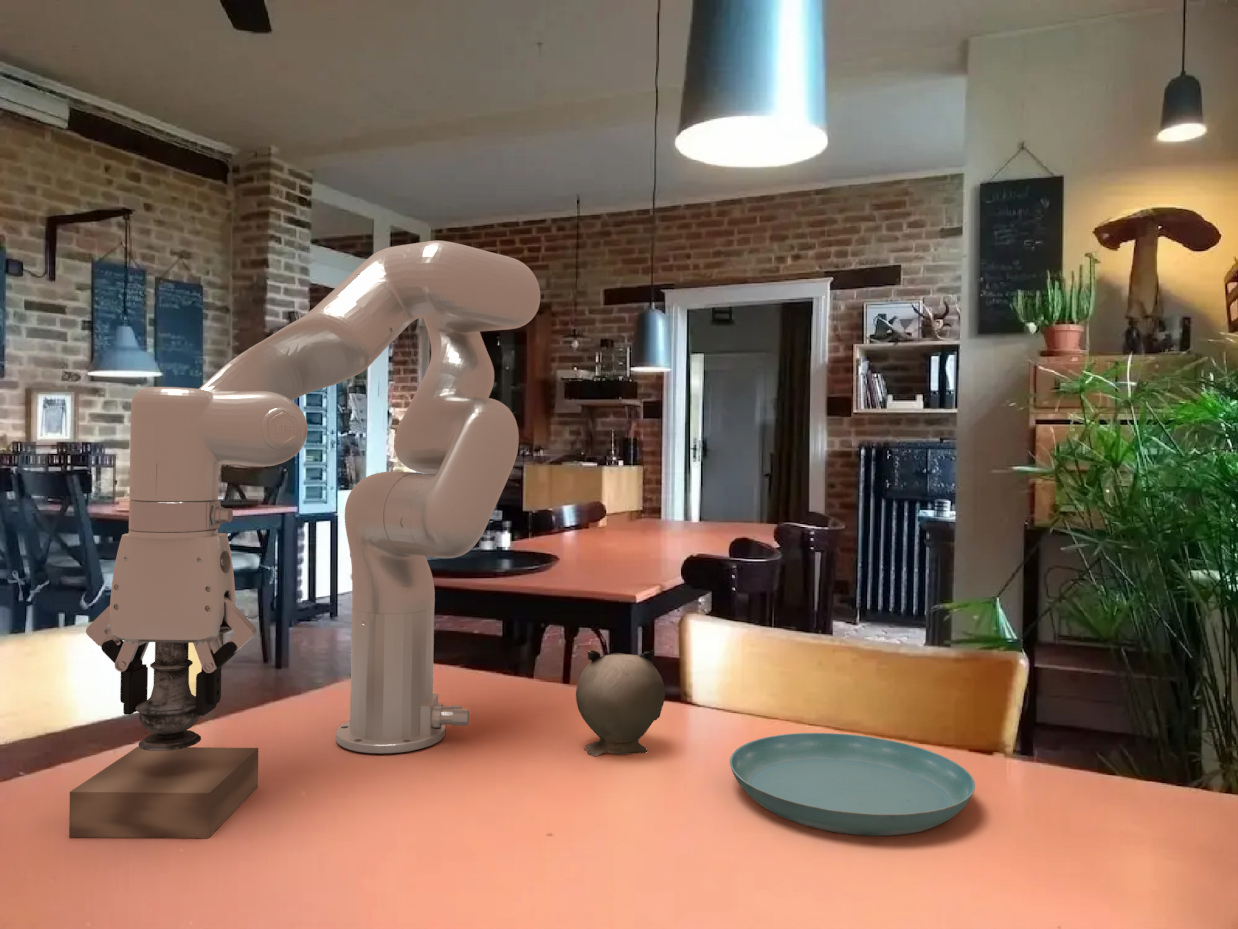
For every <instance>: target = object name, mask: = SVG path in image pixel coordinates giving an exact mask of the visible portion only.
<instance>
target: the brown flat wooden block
mask: <svg viewBox="0 0 1238 929" xmlns="http://www.w3.org/2000/svg"><path fill="white" fill-rule="evenodd" d="M258 787H259V747H216V746H215V747H210V746H209V747H207V746H206V747H205V746H203V747H199V746H198V747H197V746H196V747H194V746H190V747H186V748H182V749H177V750H170V751H148V750H144V749H141V748H140V747H139V746H136V747H135V748H133V749H132V750H130V751H129V752H127V753H126V754H124V755H123V756H122V757H120V758H119V759H117V760H115V761H114V762H112V763H111V764H110V765H108V766H106V767H105V768H103V769H102V770H101V771H99V772H98V773H95V775H93V776H91V777H90V778H88V779H87V780H86V781H84V782H82V783H81V784H80V785H78V786H76V787H75V788H73V789H72V790H70V791H69V809H68V810H69V811H68V812H69V814H68V815H69V821H68V822H69V823H68V824H69V825H68V826H69V827H68V829H69V830H68V833H69V834H68V837H69V838H104V839H105V838H113V839H114V838H115V839H116V838H117V839H118V838H119V839H121V838H122V839H123V838H125V839H126V838H127V839H133V838H136V839H138V838H141V839H146V838H147V839H153V838H154V839H209V838H210V837H211V836H213V834H214V833H215V832H216V831H217V830H218V829H219V828H220V827H221V826H222V825H223V824H224V823H225V822H226V821H227V820H228V819H229V818H230V817H231V815H232V814H234V812H236V811H237V810H238V808H239V807H241V805H242V804H243V803H244V802H245V801H246V800H247V799H248V798H249V797H250V796H251V795H252V794H253V793H254V792H255V790H256V789H258Z"/></svg>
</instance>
